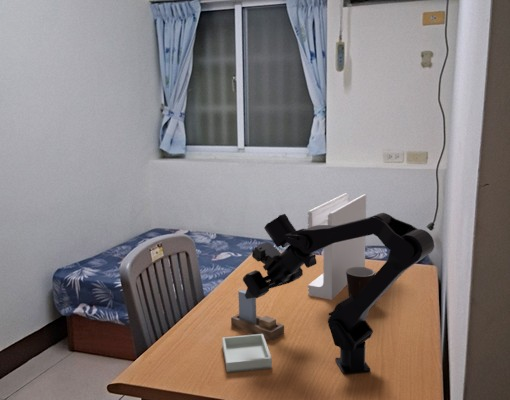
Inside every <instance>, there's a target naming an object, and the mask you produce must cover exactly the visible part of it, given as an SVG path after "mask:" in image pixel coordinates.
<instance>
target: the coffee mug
mask: <svg viewBox="0 0 510 400" xmlns="http://www.w3.org/2000/svg"><path fill="white" fill-rule="evenodd" d="M375 274H376V273H375V270H373V269H371V268H369V267H366V266H365V267H352V268H349V269H347V270H346V275H347V285H346V286H347V293H348V297H350V296H352V297H353V299H354V298H355V297H356V296H357V295H358V293H359V292H360V291H361V290H362V289H363V288H364V287H365V286H366V284H367V283H368V282H369V281H370V280H371V279H372V278H373V276H374V275H375Z"/></svg>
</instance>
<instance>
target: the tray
mask: <svg viewBox="0 0 510 400" xmlns="http://www.w3.org/2000/svg"><path fill="white" fill-rule="evenodd" d="M221 340H222V341H221V346H222V351H223V352H222V353H223V358H224V363H225V370H226V373H227V374H229V373H238V372H239V373H240V372H249V371H258V370H260V371H261V370H268V369H273V359H272V356H271V352H270V350H269V348H268V344H267V341H266V339H265V338H264V335H263V334H255V335H254V334H247V335H245V334H244V335H236V336H226V337H224V336H223V337H221Z"/></svg>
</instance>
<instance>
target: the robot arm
mask: <svg viewBox="0 0 510 400" xmlns="http://www.w3.org/2000/svg"><path fill="white" fill-rule="evenodd" d="M264 231H266V233H267V236H269V238H271V240H272V241H273V243H274V245H275V246H276V247H277V248H276V247H275V246H273V245H272V244H271V243H270V242H267V241H266V242H263V243H260V244H257V246H255V248H254V249H252V250H251V251H252V254H251V257H252V258H253V259H254V260H255V261H256V262H258V263H259V262H261V263H263V266H262V268H263V269H264V271H265V272H266V274H267V275H265V276H263V275H262V273H261V272H260V271H259V270H253V271H250V272H248V273H246V274H245V275H244V276H243V277H242V282H243V283H244V284H245V286H246V288H247V289H246V290H245V291H246V293H245V297H246V299H250V298H256V299H258V298H260V297H263V296H265V295H266V294H267V293H269V292H270V289H273V288H277V287H281V286H283V285H287V284H290V283H292V282H295V281H296V280H299V279H300V278H301V277H303V275H304V274H303V271H304V270H303V269H302V267H303V265H304V266H305V267H306V268H311V267H313V266H315V265H317V259H316V254H313V253H315V252H316V251H319V250H322V249H324V248H325V247H327V246H329V245H331V244H333V243H336V242H341V241H345V240H350V239H354V238H359V237H363V236H365V237H366V236H372V235H374V236H376V238H378V240H380V242H381V243H382V244H383V245H384V247H385V248H387V249H388V250H390V251H389V253H388V256H387V259H386V261H385V263H384V264H383V265H382V266H381V267H380V268H379V269H378V271H377V272H376V273H375V274H374V276H373V278H372V279H371V280H370V281H369V282H368V283H367V284H366V286H365V287H364V288H363V289H362V290H361V291H360V292H359V293H358V295H357V296H356V297H355V298H354V299H353V297H352V296H350V297H349V296H348V297H347V298H345V299H343V300H341V301H340V302H338V303H337V304H336V305H335V307H334V309H333V310H332V311H330V312H328V316H329V317H328V320H327V324H328V328H329V330H330V333H331V334H330V335H331V336H332V340H333V345H334V346H336V347H338V348H339V350H340V351H339V353H340V354H339V355H340V357H336V358H335V362H336V363H337V366H338V367H339V369H340V370H341V372H342V374H344V375H349V374H357V373H358V374H360V373H366V372H367V373H368V372H371V368H370V366H369V365H368V363H367V362H366V341H367V340H369V339H371V338H372V336H373V333H374V330H373V328H372V327H371V326H370V325H369V323H368V322H367V321H366V319H367V318H368V315H369V311H370V309H371V308H372V307H373V306H374V305H375V303H377V302H378V301H379V300H380V298H381V297H382V296H383V295H384V294H385V293H386V292H387V291H388V290H389V289H390V288H391V287H392V285H393V284H394V283H396V282H397V280H398V279H400V277H401V276H402V275H403V274H404V273H405V272H406V271H407V270H409V268H411V267H413V266H414V265H416V264H417V263H418V262H420V261H421V260H424V259H425V258H426V257H427V256H428V255H430V254H431V253H432V252H433V251H434V248H435V242H434V241H435V240H434V239H433V237H432V235H431V234H430V233H429V232H428V231H427V230H425V229H419V228H416V227H415V226H414V225H412V224H410V223H408V222H405V221H402V220H399V219H397V218H395V217H393V216H392V215H391V214H388V213H386V212H380V213H378V214H374V215H372V216H369V217H366V218H364V219H360V220H356V221H352V222H348V223H344V224H340V225H336V226H331V225H317V226H313V227H310V228H308V227H307V228H301V229H298V230H297V229H296V228H295V226H294V225H293V224H292V222H291V221H290V219H289V217H288V216H287V214H285V213H282V214H280V215H278V217H276V218H274V219H272V220H271V221H270V222H268V223H266V225H265V226H264ZM280 247H281V248H285V250H283V251H282V252H280V250H279V249H278V248H280Z"/></svg>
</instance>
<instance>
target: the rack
mask: <svg viewBox="0 0 510 400" xmlns="http://www.w3.org/2000/svg"><path fill="white" fill-rule="evenodd" d="M262 317H263V316H259V315H256V324H253V323H250V322H247V321H245V320H242V319H239V313H238V314H236V315H233V316H231V317H230V320H231V325H230V326H231V327H234V328H235V329H238V330H241V331H243V332H247V333H249V334H250V335H255V334H263V335H264V338H265V341H266V340H267V341H269V342H273V341H275V340H276V339H278V338H280V337H282V336H283V335H284V334H285V324H281V323H279V322H276V328H275V329H273V330H269V329H266V328H264V327H261V326H259V319H260V318H262Z"/></svg>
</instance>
